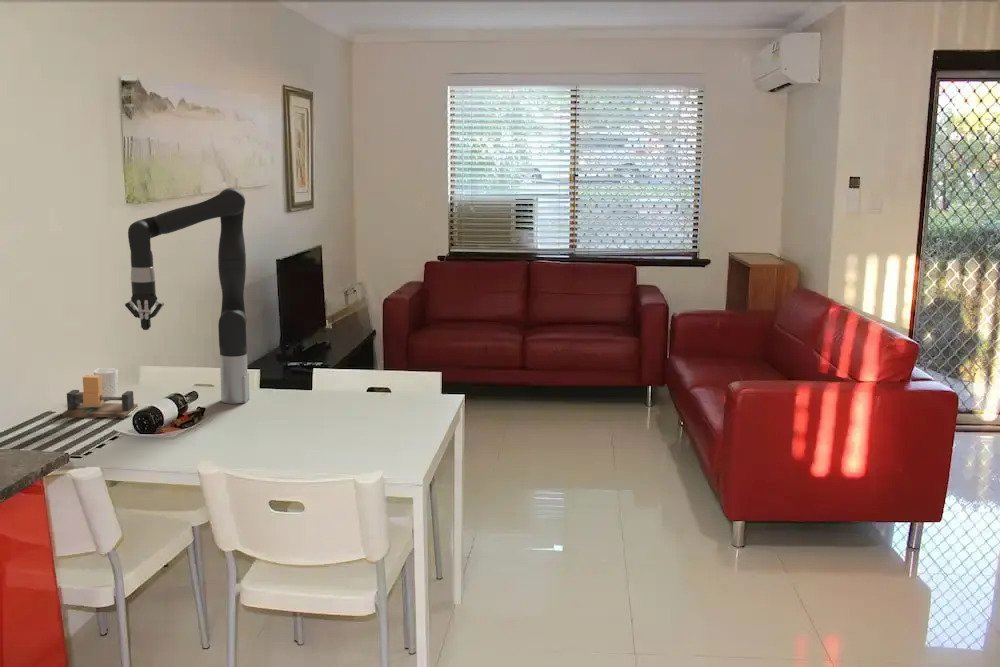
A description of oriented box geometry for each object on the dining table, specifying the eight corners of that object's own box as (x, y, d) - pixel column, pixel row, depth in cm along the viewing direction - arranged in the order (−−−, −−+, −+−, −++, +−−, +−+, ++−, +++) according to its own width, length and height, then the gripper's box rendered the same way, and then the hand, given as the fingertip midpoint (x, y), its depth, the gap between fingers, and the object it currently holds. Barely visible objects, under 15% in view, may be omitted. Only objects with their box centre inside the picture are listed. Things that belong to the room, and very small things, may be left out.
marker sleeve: (103, 402, 305) (102, 374, 303) (98, 406, 301) (97, 378, 299) (88, 402, 305) (87, 374, 303) (83, 405, 300) (81, 377, 298)
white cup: (90, 399, 318) (88, 372, 316) (104, 393, 325) (103, 367, 323) (109, 401, 316) (108, 374, 314) (123, 395, 324) (122, 369, 322)
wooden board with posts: (137, 408, 310) (136, 388, 308) (124, 418, 298) (123, 397, 296) (78, 406, 309) (77, 387, 307) (63, 416, 297) (61, 396, 296)
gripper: (166, 278, 310) (169, 327, 314) (127, 277, 310) (130, 327, 313) (159, 281, 303) (162, 332, 306) (119, 281, 302) (122, 331, 306)
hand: (146, 329), depth 310 cm, fingers closed
